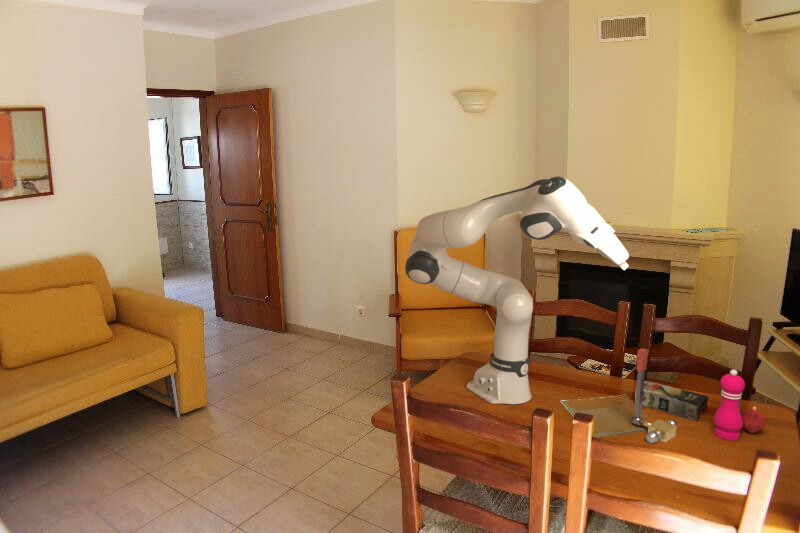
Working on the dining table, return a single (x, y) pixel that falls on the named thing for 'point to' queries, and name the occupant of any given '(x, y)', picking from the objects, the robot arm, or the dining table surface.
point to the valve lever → (640, 384)
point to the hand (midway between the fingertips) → (616, 261)
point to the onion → (753, 420)
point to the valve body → (660, 430)
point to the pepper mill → (729, 407)
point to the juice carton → (673, 400)
